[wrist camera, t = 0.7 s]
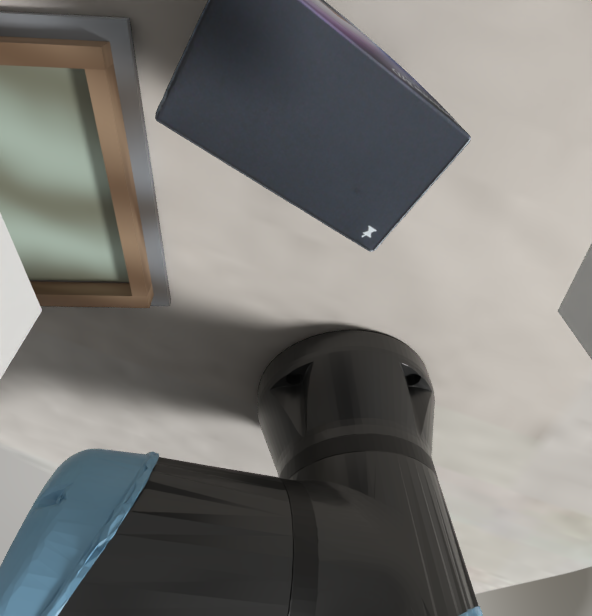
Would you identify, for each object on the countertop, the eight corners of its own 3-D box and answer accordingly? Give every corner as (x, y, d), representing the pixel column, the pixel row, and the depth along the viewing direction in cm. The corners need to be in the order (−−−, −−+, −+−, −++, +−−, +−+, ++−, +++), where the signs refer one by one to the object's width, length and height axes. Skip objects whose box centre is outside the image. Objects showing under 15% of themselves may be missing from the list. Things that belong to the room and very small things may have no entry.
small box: (417, 73, 26) (485, 137, 17) (345, 169, 29) (373, 261, 21) (251, -64, 22) (237, -65, 14) (189, 65, 25) (147, 127, 17)
